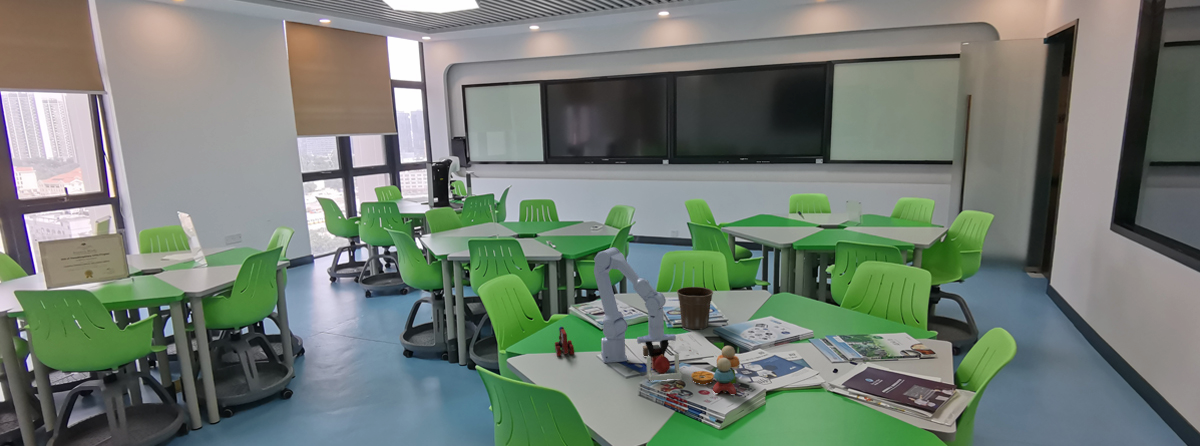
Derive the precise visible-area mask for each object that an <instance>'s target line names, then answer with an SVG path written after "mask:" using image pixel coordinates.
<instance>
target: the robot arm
mask: <svg viewBox="0 0 1200 446" xmlns="http://www.w3.org/2000/svg"><path fill="white" fill-rule="evenodd" d="M593 261H594V267H593V274H594V278H595V281H596V286H597V290H598V294H599V297H600V298H599V299H600V300H601V301H600V302H601V305H602V309H603V311H604V318H603V320H602V324H603V325H602V326H603V327H602V333H603V336H604V337H602V338H601V339H600V342H601V343H600V347H601V352H600V353H601V358H602V361H603V363H604V364H606V363H619V362H620V363H621V362H628V361H629V359H628V357H627V355H626V336H625V335H626V331H627V330H628V325H629V324H628V322H627V320H626V319H625V318H624V315H623V313H622V312H620V311H619V308H618V304H617V300H616V296H615V294H614V290H613V285H612V282H611V278H610V274H609V272H610V271H611V270H618V271H619V272H620V273H621V274H623V276H624V277H625V278H626V279H627V280H629V282H630V283H632V285H633V286H632V287H633V290H634V291H635V293H637V295H638V296H639V297H640V298H641V299H642V301H644V305H645V308H646V309H647V314H648V315H647V316H648V319H647V320H648V334H647V335H643V336H637V337H636V342H637V344H638V345H639V344H640V345H641V344H643V343H644V344H645V346H647V348H648V351H649V354H650V357H651V361H652V356H653V345H654V344H653V343H655V342H658V343H659V346H660V348H661V354H663V355H664V356H665V354H666V351H667V349H668V348H669V341H673V342H676V340H677V339H676V337H677V336H676V334H674V333H671V334H669V333H665V326H664V325H665V324H664V323H665V321H664V306H665V304H666V298H665V296H664V294H663V293H662V292H659V291H657V290H656V289H654V287H653V286H652V285H651V284H650V281H649V280H648V279H645V278H642V277H641V278H640V276H639V275H638V274H637V273H636V271H635V270H634V269H633V268H632V267H631V265H630V264H629V263H628V261H627V260H626V259H625V256H624V253H622V252H621V251H620V250H619V249H618V248H617V247H613V246H612V247H609V248H607V249H606V250H602V251H598V252H597V254H596V255H595V256H594V258H593ZM627 360H628V361H627Z"/></svg>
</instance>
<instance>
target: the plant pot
mask: <svg viewBox="0 0 1200 446" xmlns="http://www.w3.org/2000/svg"><path fill="white" fill-rule="evenodd" d="M713 294H714V291H713V290H712V289H710V288H706V287H701V286H686V287H681V288H678V289H677V290H676V295H677V296H678V297H677V299H678V302H679V313H680V321H681V326H682V327H683V328H685V329H688V330H696V329H699V330H703V329H707V328H708V327H709V325H710V324H709V323H710V322H709V321H710V312H711V302H712V299H713Z"/></svg>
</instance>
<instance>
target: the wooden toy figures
mask: <svg viewBox="0 0 1200 446" xmlns="http://www.w3.org/2000/svg"><path fill="white" fill-rule="evenodd" d="M739 366H740V358H739V357H738V356H736V350H735V348H734V347H733V346H731V345H725V346H723V348H722V349H721V354H719V355H718V356H717V359H716V370H715V372H714V374H713V373H712V372H710V371H708V370H707V371H705V370H698V371H694V372H692V373H691V375H690V376H691V379H692V382H693V381H694V382H696V383H700V384H706V383H710V382H712V383H713V380H716V381H717V382H716V383H715V384H714V385H713V387H712V390H713V391H714V392H715V393H719V394H720V393H721V391H723V392H726V391H727V392H728V393H729V395H730V394H736V395H737V389H736V387H735V385H734V384H733V383H735V384H736V383H737V381H736V377H737V376H736V371H735V369H734V368H736V367H739ZM694 382H693V383H694ZM727 392H726V393H727Z"/></svg>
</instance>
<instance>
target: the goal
mask: <svg viewBox="0 0 1200 446" xmlns="http://www.w3.org/2000/svg"><path fill="white" fill-rule="evenodd" d="M645 359H646V379H647V380H648V381H649V380H650V381H652V380H653V381H654V380H667V379H681V380H682V372H681V371H680V355H679V353H675V354H674V373H673V372H672V373H665V374H660V373H659V374H653V373H652V364H651V357H650V356H647V357H646V358H645ZM650 381H649V382H650Z"/></svg>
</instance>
